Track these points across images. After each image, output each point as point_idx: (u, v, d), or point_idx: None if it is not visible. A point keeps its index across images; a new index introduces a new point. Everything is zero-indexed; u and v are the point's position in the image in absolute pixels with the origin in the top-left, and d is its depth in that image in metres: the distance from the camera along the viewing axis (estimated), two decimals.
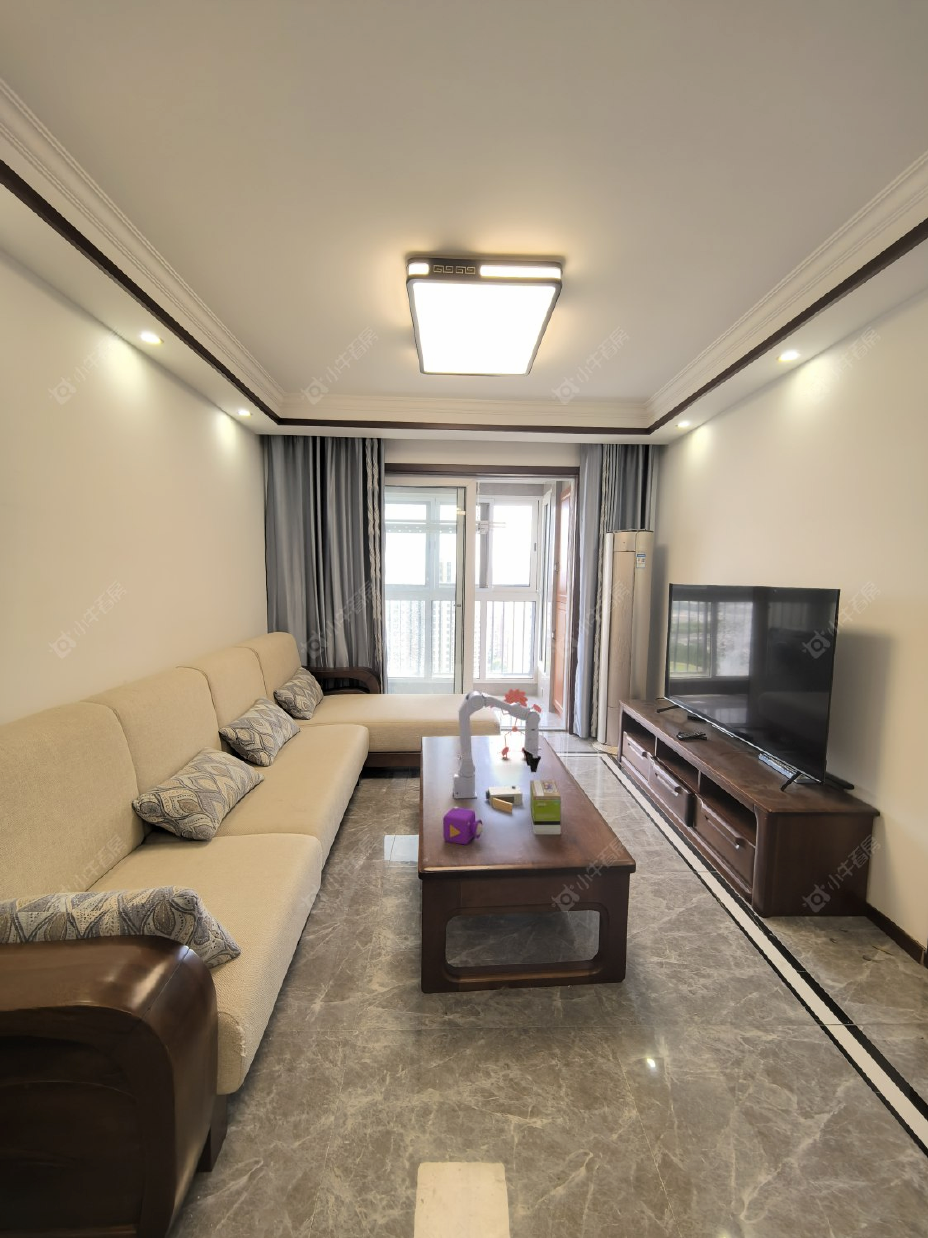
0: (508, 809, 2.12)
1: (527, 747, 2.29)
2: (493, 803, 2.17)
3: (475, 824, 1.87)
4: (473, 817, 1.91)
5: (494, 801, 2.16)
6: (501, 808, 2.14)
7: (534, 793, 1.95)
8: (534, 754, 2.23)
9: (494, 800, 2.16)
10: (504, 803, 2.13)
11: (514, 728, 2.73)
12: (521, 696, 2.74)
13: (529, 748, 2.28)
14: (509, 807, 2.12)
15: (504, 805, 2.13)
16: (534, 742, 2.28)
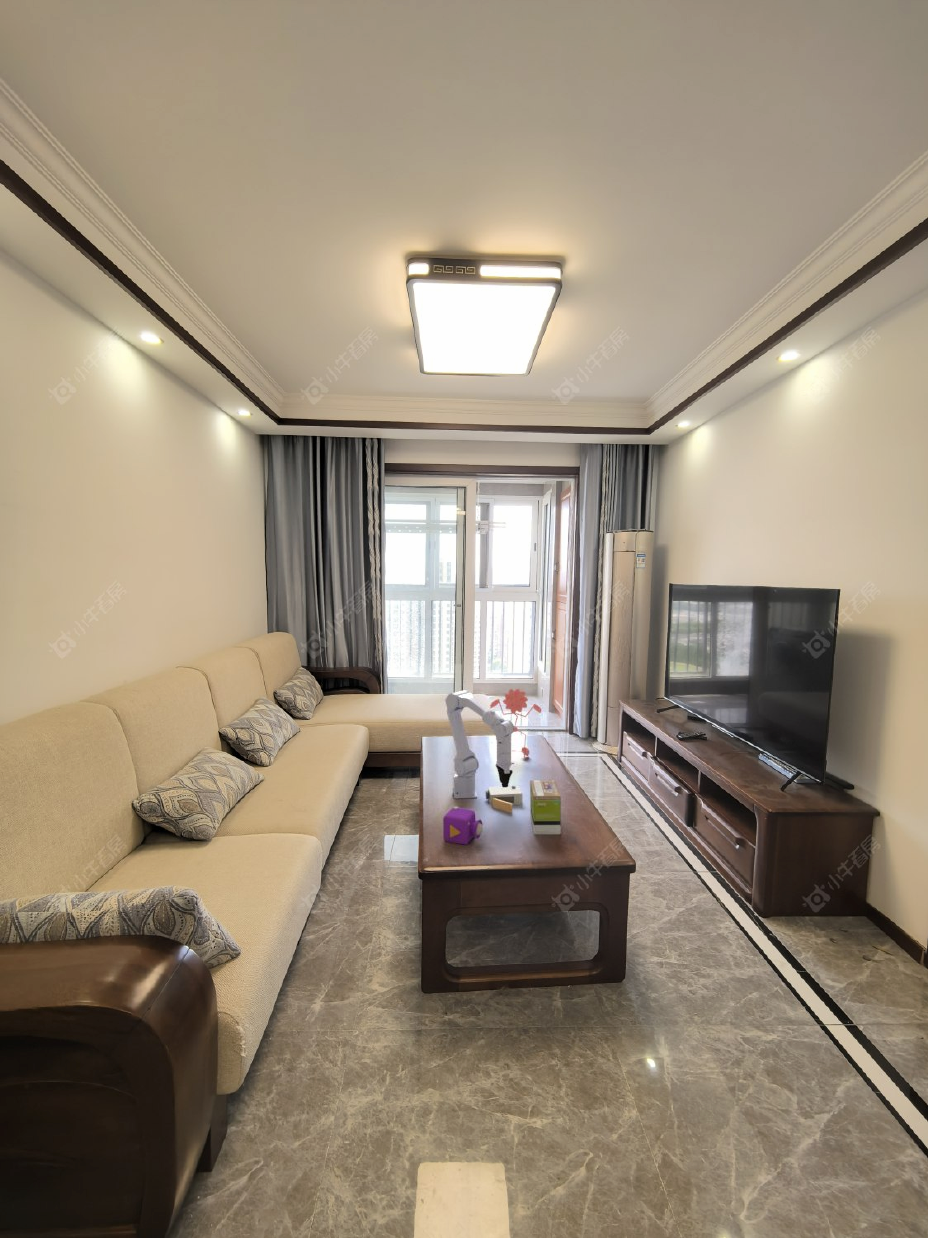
0: (508, 809, 2.12)
1: (499, 762, 2.13)
2: (493, 803, 2.17)
3: (475, 824, 1.87)
4: (473, 817, 1.91)
5: (494, 801, 2.16)
6: (501, 808, 2.14)
7: (534, 793, 1.95)
8: (505, 769, 2.08)
9: (494, 800, 2.16)
10: (504, 803, 2.13)
11: (514, 728, 2.73)
12: (521, 696, 2.74)
13: (501, 763, 2.13)
14: (509, 807, 2.12)
15: (504, 805, 2.13)
16: (506, 756, 2.12)
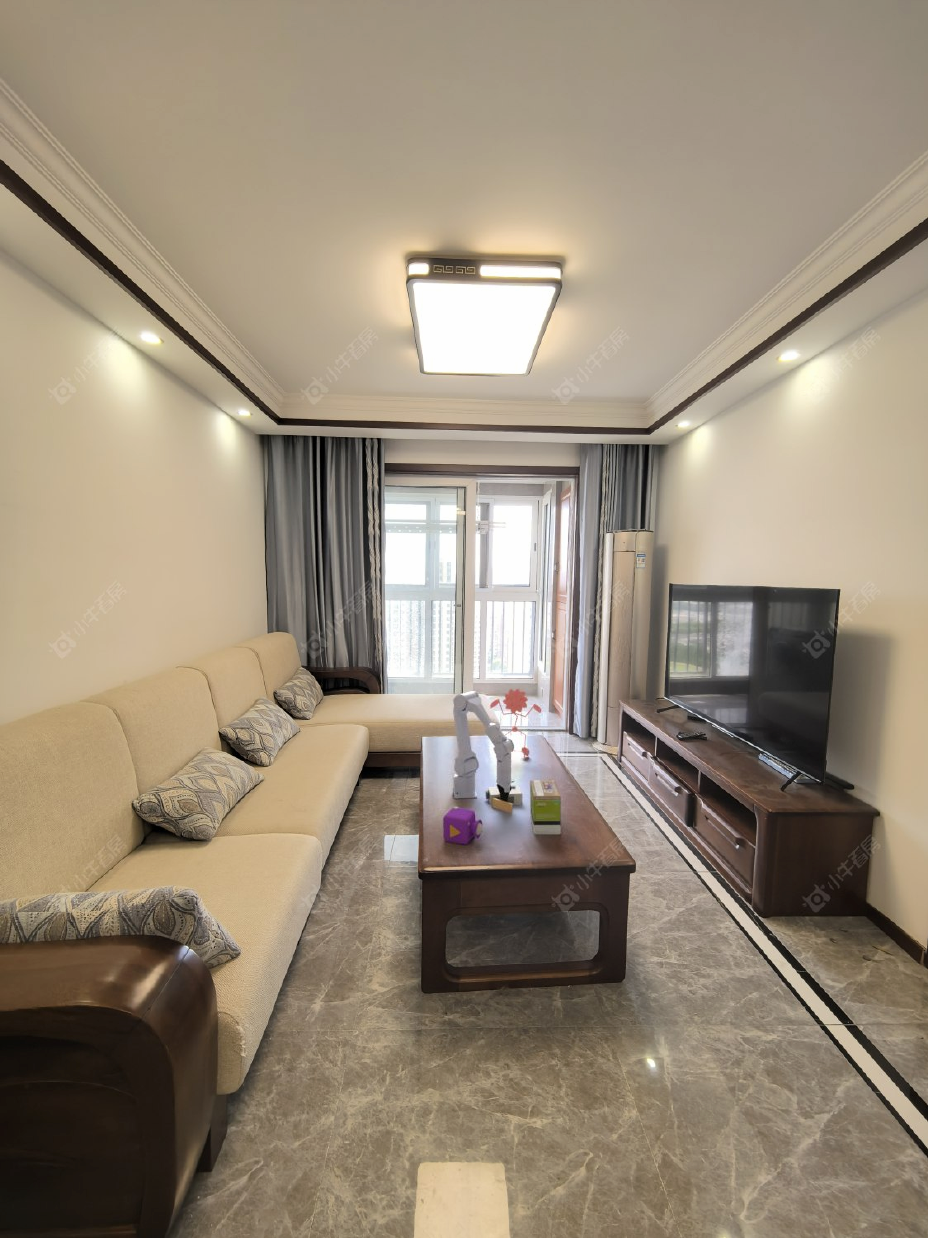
0: (508, 809, 2.12)
1: (499, 780, 2.14)
2: (493, 803, 2.17)
3: (475, 824, 1.87)
4: (473, 817, 1.91)
5: (494, 801, 2.16)
6: (501, 808, 2.14)
7: (534, 793, 1.95)
8: (506, 788, 2.09)
9: (494, 800, 2.16)
10: (504, 803, 2.13)
11: (514, 728, 2.73)
12: (521, 696, 2.74)
13: (501, 781, 2.13)
14: (509, 807, 2.12)
15: (504, 805, 2.13)
16: (506, 775, 2.13)
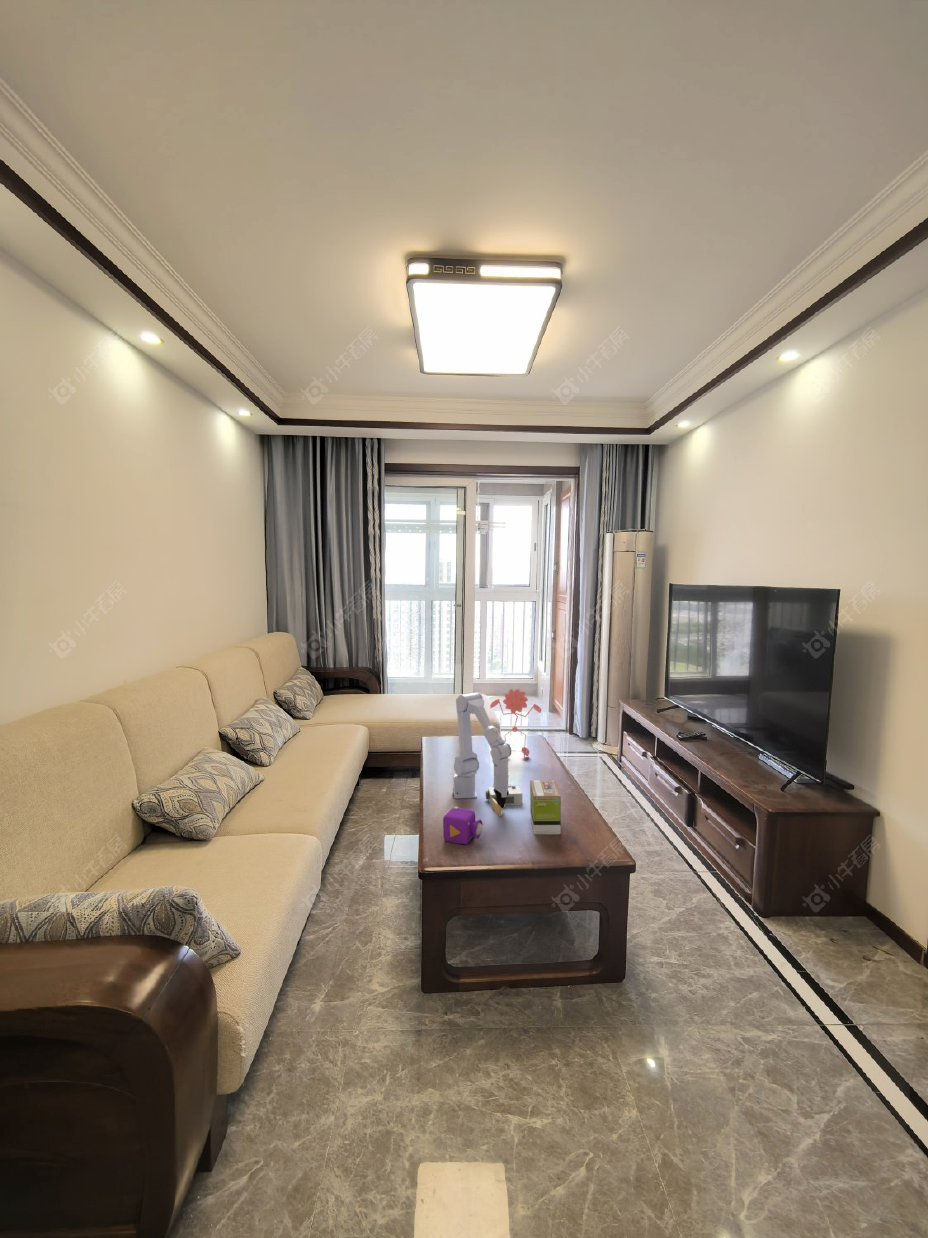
0: (498, 812, 2.10)
1: (496, 785, 2.10)
2: (492, 803, 2.17)
3: (475, 824, 1.87)
4: (473, 817, 1.91)
5: (492, 801, 2.16)
6: (495, 810, 2.13)
7: (534, 793, 1.95)
8: (503, 793, 2.05)
9: (492, 800, 2.16)
10: (496, 805, 2.11)
11: (514, 728, 2.73)
12: (521, 696, 2.74)
13: (498, 786, 2.09)
14: (498, 810, 2.09)
15: (496, 807, 2.11)
16: (503, 779, 2.09)
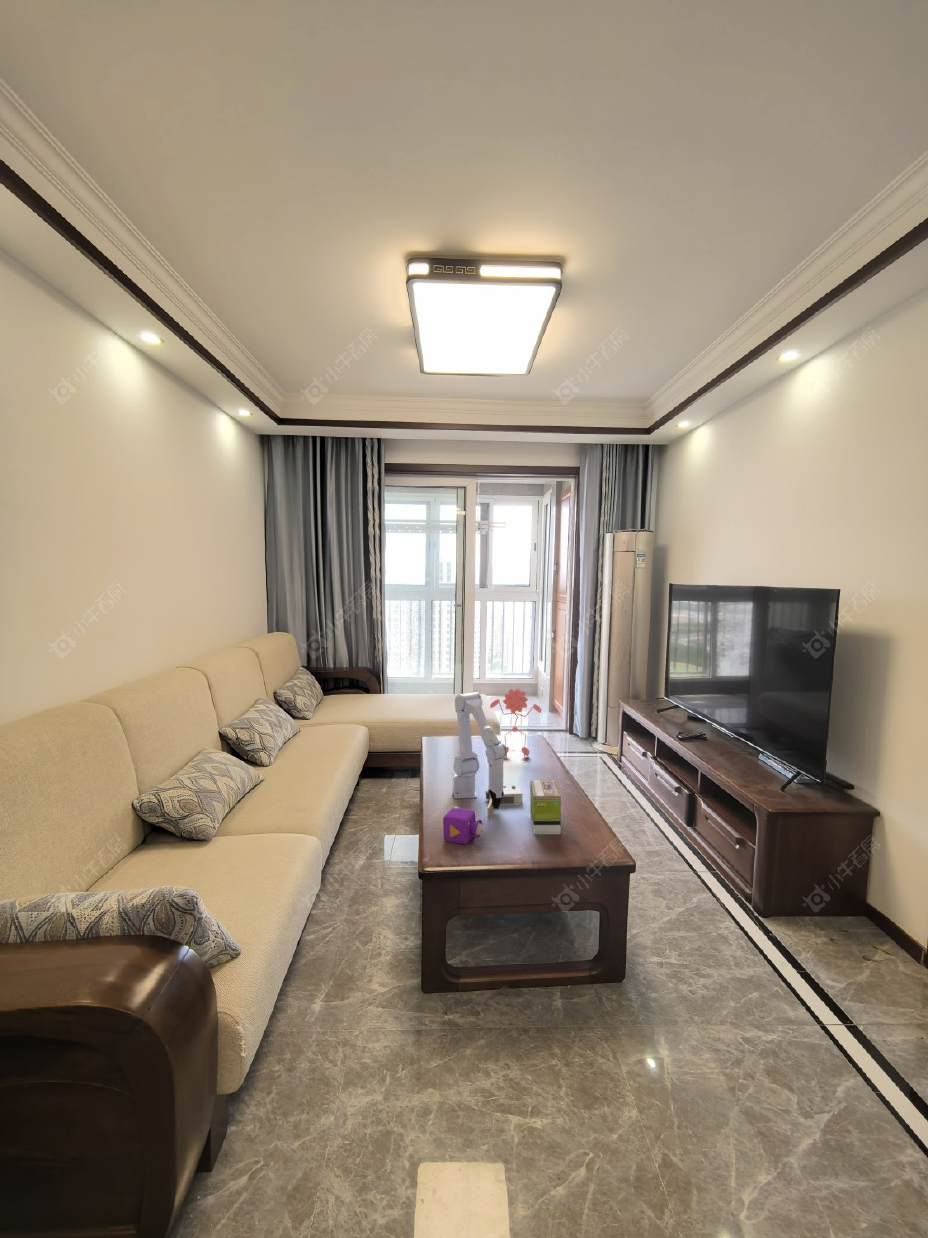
0: None
1: (491, 785, 2.09)
2: None
3: (475, 824, 1.87)
4: (473, 817, 1.91)
5: None
6: None
7: (534, 793, 1.95)
8: (497, 794, 2.04)
9: None
10: None
11: (514, 728, 2.73)
12: (521, 696, 2.74)
13: (493, 786, 2.09)
14: None
15: None
16: (498, 780, 2.08)
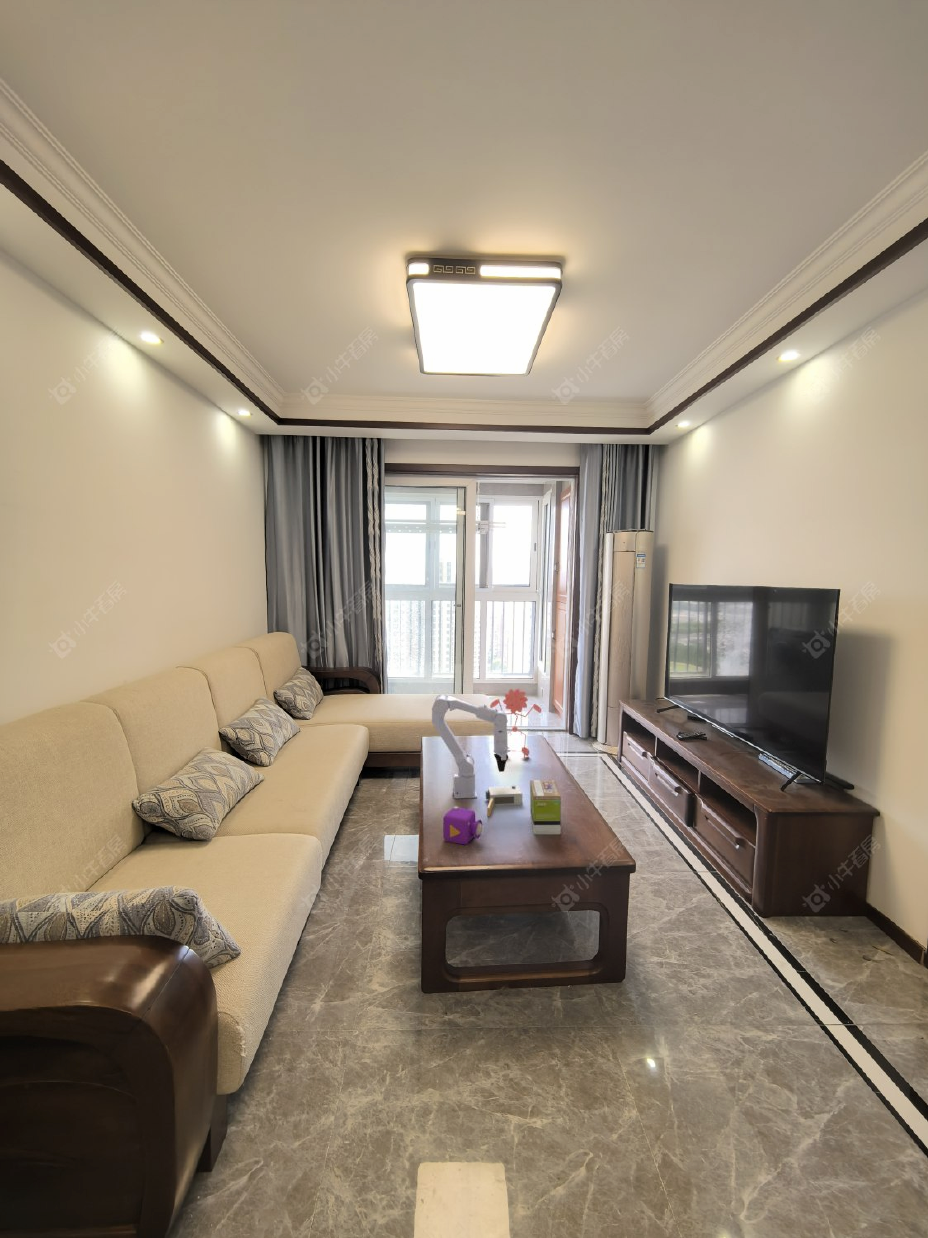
0: None
1: (496, 749, 2.25)
2: None
3: (475, 824, 1.87)
4: (473, 817, 1.91)
5: None
6: None
7: (534, 793, 1.95)
8: (502, 756, 2.20)
9: None
10: None
11: (514, 728, 2.73)
12: (521, 696, 2.74)
13: (498, 750, 2.25)
14: None
15: None
16: (503, 744, 2.24)
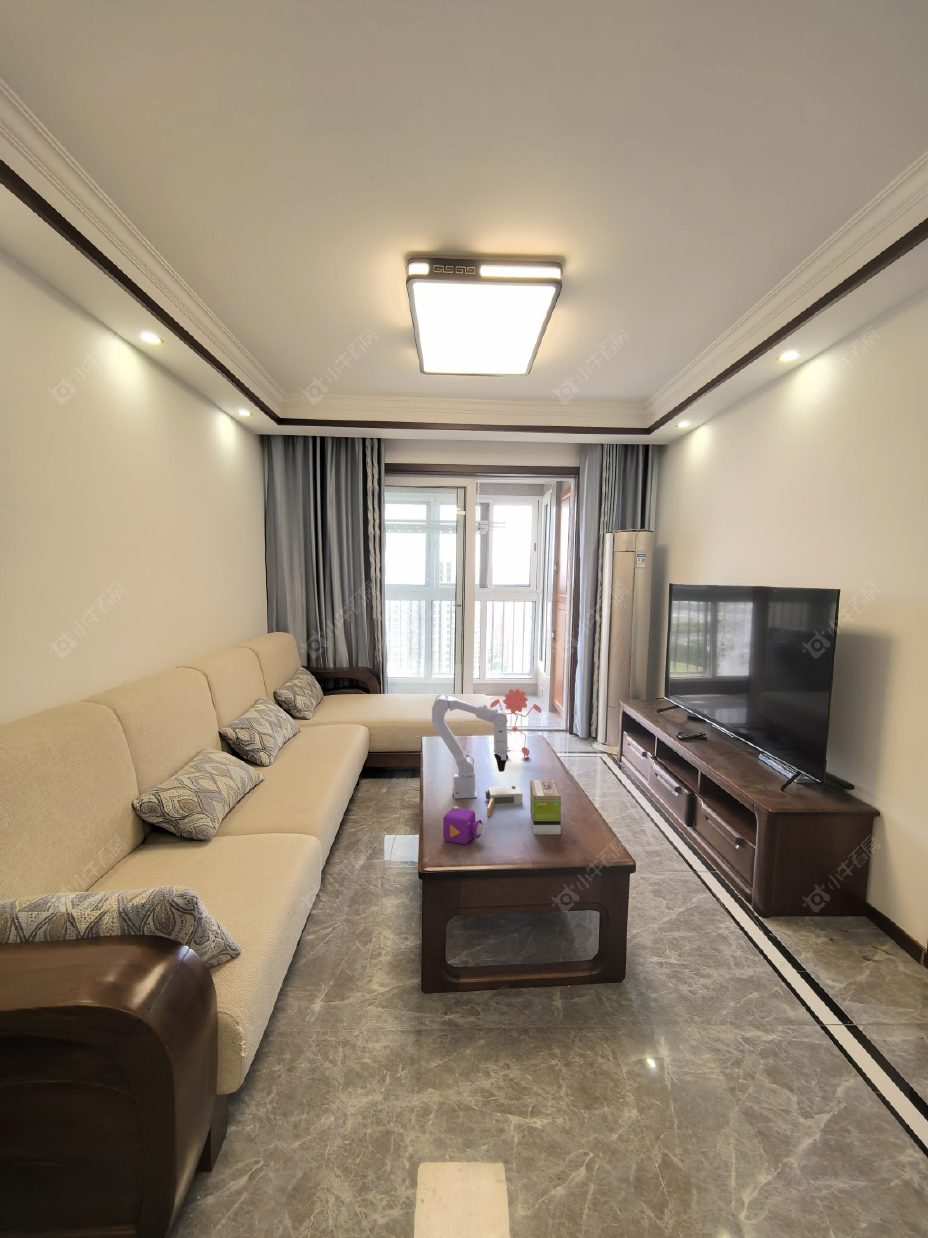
0: None
1: (496, 749, 2.25)
2: None
3: (475, 824, 1.87)
4: (473, 817, 1.91)
5: None
6: None
7: (534, 793, 1.95)
8: (502, 756, 2.20)
9: None
10: None
11: (514, 728, 2.73)
12: (521, 696, 2.74)
13: (498, 750, 2.25)
14: None
15: None
16: (503, 744, 2.24)
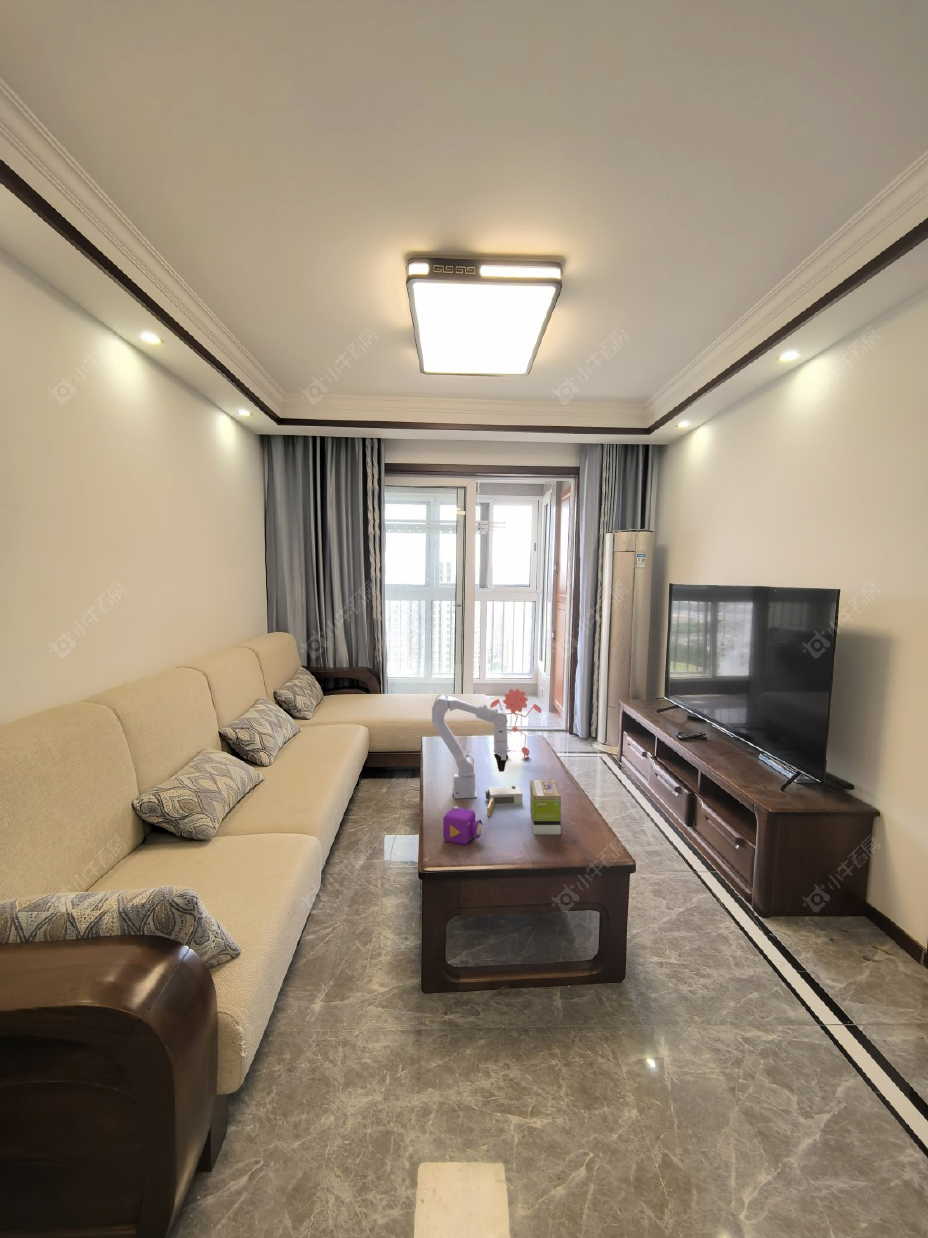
0: None
1: (496, 749, 2.25)
2: None
3: (475, 824, 1.87)
4: (473, 817, 1.91)
5: None
6: None
7: (534, 793, 1.95)
8: (502, 756, 2.20)
9: None
10: None
11: (514, 728, 2.73)
12: (521, 696, 2.74)
13: (498, 750, 2.25)
14: None
15: None
16: (503, 744, 2.24)
